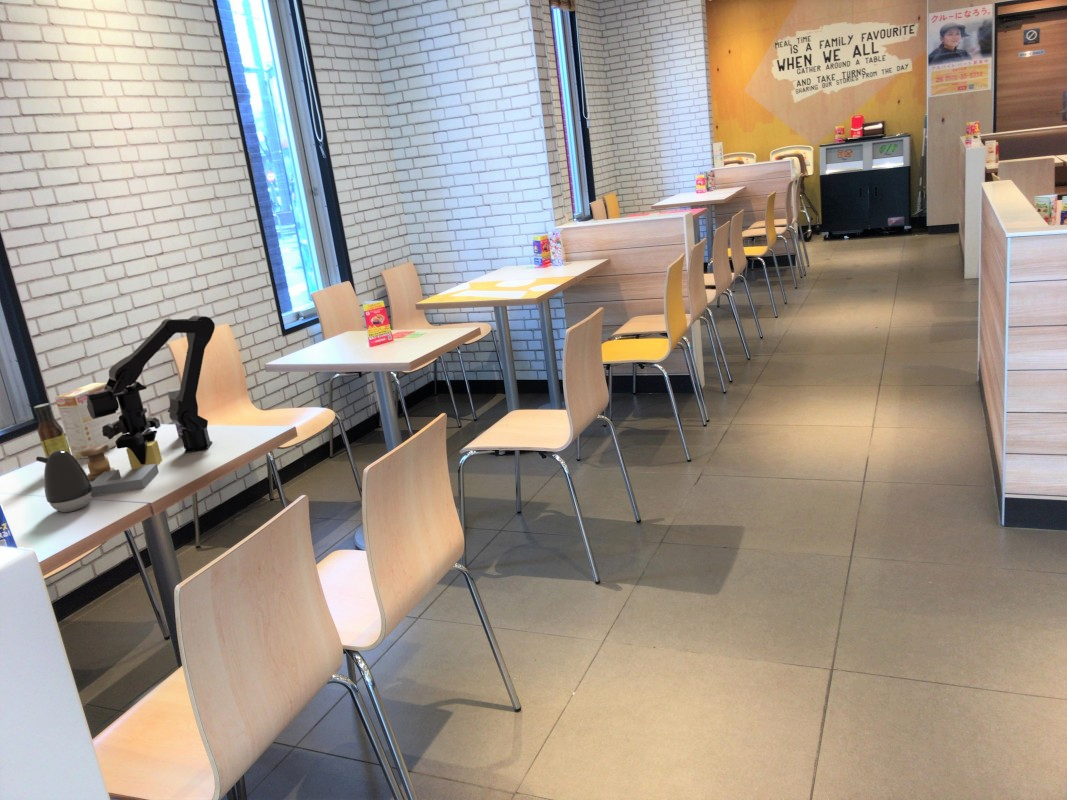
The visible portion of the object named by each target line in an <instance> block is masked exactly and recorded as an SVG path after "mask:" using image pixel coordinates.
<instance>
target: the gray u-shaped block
mask: <svg viewBox="0 0 1067 800" xmlns="http://www.w3.org/2000/svg"><path fill="white" fill-rule="evenodd" d="M159 473H160V472H159V469H158V465H157V464H151V465H145V466H141V467H140V468H138V469H136V471H135V472H134V473H133V474H132V475H130V477H125V478H122V476H121V472H120V470H119V469H115V470H112V471H106V472H103V473H102V474H101V475H100V476H99V477H97V478H96V479H95V480H94V481H91V482H90V483H91V485H92V491H91V492H92V494H91V497H98V496H102V495H103V496H104V495H109V494H116V493H122V492H128V491H134V490H141V489H146V487H147V486H148V484H149V483H151V481H152V480H153V479H154V478H155V477H156V476H157V475H158V474H159Z"/></svg>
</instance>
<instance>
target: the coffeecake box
mask: <svg viewBox="0 0 1067 800" xmlns="http://www.w3.org/2000/svg"><path fill="white" fill-rule="evenodd" d="M107 382H108V381H107ZM107 382H106V381H105V382H91V383H89V384H86V385H84V386H81V387H79V388H76V389H73V390H71V391H68V392H66V393H63V394H61V395H58V396H55V397H54V399H55V402H56V406H57V409H58V412H59V415H60V419H61V422H62V426H63V428H64V429H63V430H64V434H65V437H66V440H67V444H68V446H69V450H70V452H71V455H72V456H73V457H74V458H75V459H76V460H78V459H88V456H87V457H83V456H81V454H80V451H81V450H83V449H85V448H87V447H90V446H94V445H100V444H107V445H108V447H109V450H110V449H112V448H114V447H115V446H116V443H115V441H116V440H117V439H118V438H119V437H120V436H121V435H122V432H121V433H119V434H117V435H116V436H114V437H113V438H112V439H108V437H106V436H103V432H102V430H103V428H102V427H103V426H104V425H107V424H108V423H110V424H112V423H114V422H116V421H118V420H119V414H118V410H117V411H116V413H114V414H111V415H107V416H103V417H100V418H96V419H93V418H92V417H91V416H90V414H89V411H88V408H87V394H91V393H97V392H101V391H105V390H104V388H105V386H106V384H107Z"/></svg>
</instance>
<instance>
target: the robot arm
mask: <svg viewBox="0 0 1067 800" xmlns="http://www.w3.org/2000/svg"><path fill="white" fill-rule="evenodd" d="M215 326H216V325H215V322H214V321H213V319H211V318H210V316H209V317H208V316H205V315H196V314H195V315H193V316H190V317H189V318H178V319H177V318H176V319H172V318H165V319H164V320H162V321H161V323H160V324H159V326H157V327H156V329H155V330H153V332H152V333H151V334H150V335H148V337H147V338H146V339H145V340H144V341H143V342H142V343H140V345H139V346H138V347H137V348H136V349H135V350H133V352H132V353H131V354H129V355H127V356H126V357H123V358H122V359H120V360H119V361H117V362H116V363H115V364H113V365H112V366H111V367H110V368H109V370H108V377H109V378H108V379H107V384H106V386H105V388H104V390H105V391H101V392H97V393H91V394H87V408H88V411H89V414H90V416H91V417H92V418H93V419H96V418H100V417H103V416H107V415H111V414H114V413H116V411H117V412H118V410H119V409H120V410H119V411H120V412H121V413H120V415H118V417H119V420H118V421H116V422H114V423H112V424H110V423H108V424H107V425H104V426H103V427H102V428H103V430H102V432H103V436H106V437H108V439H112V438H113V437H114V436H116V435H117V434H119V433H121V432H122V435H121V436H120V437H119V438H118V439H117V440H116V441H115V443H116V449H124V448H126V449H127V448H129V449H131V451H132V452H133V453H134V455H135V456H136V458H137V459H138V461H139V462H140V463H141V464H145V463H146V453H147V442H149V441H156V435H157V433H158V430H152V428H154V429H159V428H160V427H161V422H160V420H159V419H158V418H157V417H150V418H147V416H146V413H147V412H148V410H147V409H148V408H146V407H144V405H143V401H142V397H141V393H140V391H144V390H146V389H147V386H146V385H144V384H143V383H140V381H138V379H139V378H140V376H141V375H142V373H143V371H144V368H145V366H146V365H147V363H148V362H149V361H150V360H151V359H152V358H153V357H154V356H155V354H157V352H159V350H161V348H163V346H164V345H166V343H167V342H169V340H170V339H171V338H172V337H173V336H174V335H175V334H185V335H186V342H187V349H186V356H185V360H184V366H183V371H182V376H181V381H180V387H179V388H180V392H179V394H178V396H177V398H176V399H172V398H171V399H170V401H169V408H168V409H167V413H169V415H168V416H169V419H170V421H171V422H173V423H174V424H175V423H176V424H178V425H179V426H180V428H183V430H182V434H183V435H182V436H181V438H180V439H181V441H182V445H183V449H184V453H190V452H197V451H204V450H208V449H209V448H210V447H211V445H212V444H213V441H212V440H211V439H210V435H209V431H208V424H209V423H208V422H209V420H208V419H205V418H204V417H202V416H200V415H199V405H198V401H197V399H198V398H197V394H198V387H199V382H200V376H201V371H202V365H203V361H204V356H205V355H204V354H205V350H206V347H207V346H208V344H209V343H210V341H211V339H212V337H213V334H214V333H215V330H216V329H215V328H216V327H215Z"/></svg>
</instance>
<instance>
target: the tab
mask: <svg viewBox="0 0 1067 800" xmlns="http://www.w3.org/2000/svg"><path fill="white" fill-rule="evenodd" d="M159 446H160V445H159V442H158V439H157V440H156V439H155V441H149V442H147V453H146V463H145V464H141V463H140V462H139V461H138V459H137V458H136V456H135V455H134V453H133V452H132V451H131V449H129V448H126V449H125V450H126V454H127V457H128V461H129V464H130V469H131V470H138V469H139V468H140V467H141V466H145V465H151V464H157V466H158V465H159V464H160V463H161V462H162V461H163V458H162V455H161V451H160V447H159Z"/></svg>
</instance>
